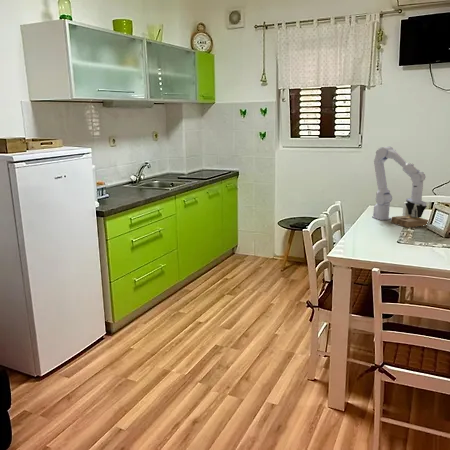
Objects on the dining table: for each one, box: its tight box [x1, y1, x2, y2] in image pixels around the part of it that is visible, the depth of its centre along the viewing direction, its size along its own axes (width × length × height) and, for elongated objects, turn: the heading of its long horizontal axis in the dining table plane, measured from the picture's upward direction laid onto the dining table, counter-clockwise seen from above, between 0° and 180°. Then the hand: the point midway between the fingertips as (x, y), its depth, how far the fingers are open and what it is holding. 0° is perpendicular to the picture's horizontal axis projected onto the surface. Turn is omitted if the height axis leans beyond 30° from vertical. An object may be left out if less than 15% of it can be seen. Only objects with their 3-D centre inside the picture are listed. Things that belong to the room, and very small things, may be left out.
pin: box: [411, 209, 417, 219], centre depth 255 cm, size 3×3×8 cm
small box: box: [402, 201, 419, 216], centre depth 266 cm, size 8×6×10 cm
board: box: [390, 215, 429, 229], centre depth 255 cm, size 14×14×4 cm
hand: (414, 215), depth 255 cm, fingers open, 7 cm apart
